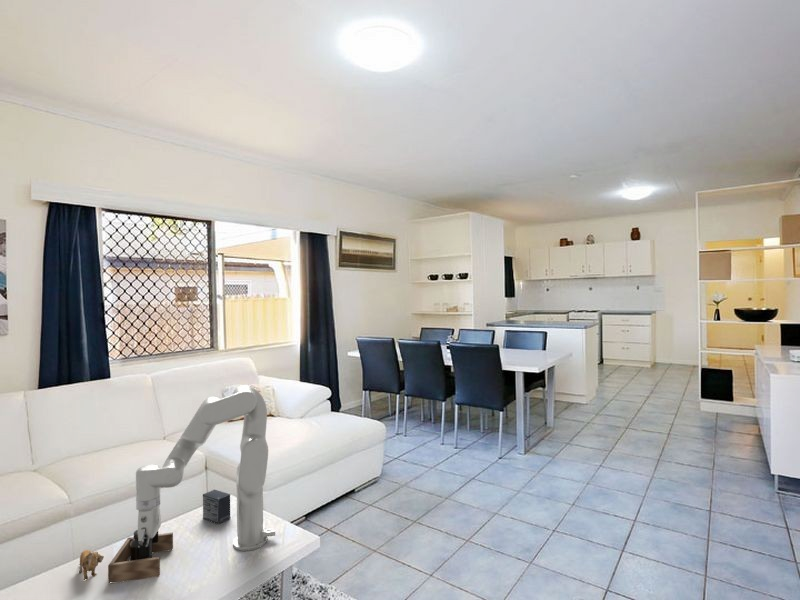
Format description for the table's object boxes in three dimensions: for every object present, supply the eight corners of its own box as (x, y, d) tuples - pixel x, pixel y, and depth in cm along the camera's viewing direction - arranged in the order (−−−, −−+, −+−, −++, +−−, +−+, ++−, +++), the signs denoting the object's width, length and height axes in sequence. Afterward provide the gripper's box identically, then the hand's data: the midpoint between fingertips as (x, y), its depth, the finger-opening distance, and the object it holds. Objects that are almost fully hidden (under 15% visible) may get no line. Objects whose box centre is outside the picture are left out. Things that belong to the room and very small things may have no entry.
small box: (231, 518, 189) (231, 493, 189) (218, 524, 183) (218, 499, 183) (215, 512, 194) (215, 488, 194) (202, 518, 189) (201, 494, 189)
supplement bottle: (142, 572, 152) (141, 537, 152) (125, 569, 153) (124, 535, 153) (157, 560, 159) (156, 527, 159) (140, 558, 160) (140, 525, 160)
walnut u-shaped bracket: (173, 548, 166) (172, 532, 166) (158, 576, 149) (158, 558, 149) (128, 554, 163) (128, 537, 163) (108, 583, 146) (108, 565, 146)
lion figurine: (105, 577, 150) (105, 550, 150) (87, 585, 145) (87, 558, 145) (87, 562, 158) (87, 537, 158) (70, 570, 154) (69, 544, 154)
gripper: (152, 512, 149) (152, 562, 149) (167, 490, 166) (167, 535, 166) (127, 514, 147) (127, 565, 147) (144, 492, 164) (145, 538, 164)
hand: (148, 550), depth 157 cm, fingers open, 9 cm apart
